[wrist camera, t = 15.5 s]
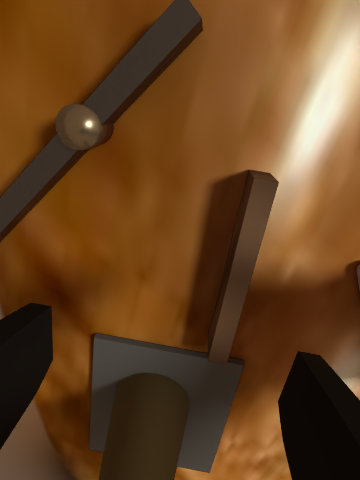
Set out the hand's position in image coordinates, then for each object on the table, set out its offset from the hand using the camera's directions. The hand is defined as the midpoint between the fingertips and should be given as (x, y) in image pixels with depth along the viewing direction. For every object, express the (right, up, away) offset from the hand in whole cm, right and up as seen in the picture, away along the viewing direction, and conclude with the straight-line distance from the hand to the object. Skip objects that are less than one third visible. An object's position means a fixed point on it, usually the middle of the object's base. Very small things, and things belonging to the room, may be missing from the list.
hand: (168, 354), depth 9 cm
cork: (-2, -9, +15) cm, 18 cm away
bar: (-6, +8, +8) cm, 13 cm away
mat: (-1, -10, +16) cm, 19 cm away
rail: (+4, +2, +10) cm, 11 cm away
